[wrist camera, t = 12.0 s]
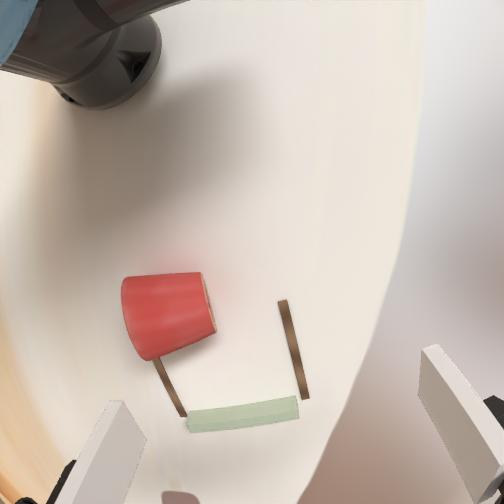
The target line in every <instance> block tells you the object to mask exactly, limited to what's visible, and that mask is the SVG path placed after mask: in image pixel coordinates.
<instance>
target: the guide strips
mask: <svg viewBox="0 0 504 504" xmlns="http://www.w3.org/2000/svg"><path fill="white" fill-rule="evenodd" d="M278 303H279V307H280V311H281V315H282V319H283V323H284V327H285V331H286V335H287V339H288V343H289V347H290V351H291V355H292V359H293V363H294V368H295V372H296V376H297V380H298V384H299V388H300V392H301V396H302V400H304V399H309V398H310V397H309V393H308V388H307V384H306V379H305V375H304V370H303V366H302V362H301V357H300V353H299V349H298V344H297V340H296V336H295V331H294V327H293V323H292V319H291V314H290V310H289V306H288V302H287V300H283V301H278ZM152 361H153V363H154V365H155V367H156V369H157V371H158V373H159V375H160V378H161V380H162V382H163V384H164V386H165V388H166V390H167V392H168V394H169V396H170V398H171V400H172V402H173V403H174V405H175V407H176V409H177V411H178V413H179V415H180V417H187V414H186V412H185V410H184V408H183V406H182V404H181V402H180V400H179V398H178V396H177V394H176V392H175V390H174V388H173V386H172V384H171V382H170V380H169V378H168V376H167V373H166V371H165V369H164V367H163V365H162V363H161V360H160V358H156V359H153V360H152Z"/></svg>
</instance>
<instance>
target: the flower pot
mask: <svg viewBox="0 0 504 504" xmlns="http://www.w3.org/2000/svg"><path fill="white" fill-rule="evenodd" d="M121 301H122V309H123V315H124V319H125V324H126V327H127V331H128V334H129V337H130V339H131V341H132V344H133V346H134V348H135V349H136V351H137V353H138V354H139V355H140V357H141V358H142V359H144V360H145V361H150V360H153V359H156V358H159V357H161V356H164V355H166V354H169V353H171V352H173V351H176V350H178V349H181V348H183V347H186V346H188V345H190V344H193V343H195V342H197V341H199V340H201V339H203V338H206V337H208V336H210V335H212V334H214V333H216V332H217V328H216V325H215V319H214V315H213V311H212V307H211V304H210V300H209V296H208V292H207V288H206V285H205V281H204V279H203V275H202V273H201V272H196V273H175V274H160V275H146V276H132V277H126V278H125V279H124V280H123V283H122V287H121Z"/></svg>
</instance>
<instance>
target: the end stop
mask: <svg viewBox="0 0 504 504" xmlns="http://www.w3.org/2000/svg"><path fill="white" fill-rule="evenodd" d="M298 418H299V410H298V403H297V399H296V396H291V397H286V398H281V399H275V400H270V401H264V402H258V403H252V404H246V405H239V406H232V407H225V408H217V409H208V410H199V411H190V414H189V417H188V421H187V424H186V425H187V427H188V429H189V431H190V433H196V432H208V431H219V430H228V429H237V428H244V427H252V426H258V425H265V424H271V423H277V422H283V421H288V420H293V419H298Z"/></svg>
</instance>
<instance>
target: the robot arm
mask: <svg viewBox="0 0 504 504" xmlns="http://www.w3.org/2000/svg"><path fill="white" fill-rule="evenodd" d="M186 1H189V0H0V70H3V71H7V72H11V73H15V74H19V75H23V76H27V77H31V78H34V79H38V80H42V81H46V82H49V83H51V84H52V86H53V87H54V88H55V89H56V90H57V91H58V92H59V94H60V95H61V96H62V97H63V98H64V99H65V100H66V101H68V102H69V103H71V104H73V105H75V106H78V107H81V108H85V109H89V110H103V109H108V108H111V107H114V106H116V105H119V104H121V103H123V102H124V101H126V100H128V99H129V98H130V97H132V96H133V95H134V94H135V93H137V92H138V91H139V90H140V89H141V88H142V87H143V86H144V84H145V83H146V82H147V81H148V79H149V78H150V77H151V75H152V73H153V72H154V70H155V68H156V66H157V63H158V61H159V57H160V53H161V47H162V39H161V33H160V30H159V27H158V25H157V24H156V22H155V21H154V20H153V18H152V17H151V16H150V15H149V14H152V13H154V12H157V11H160V10H163V9H165V8H168V7H171V6H174V5H177V4H180V3H183V2H186ZM418 396H419V398H420V400H421V402H422V404H423V405H424V407H425V409H426V410H427V412H428V414H429V416H430V418H431V420H432V422H433V423H434V425H435V427H436V429H437V431H438V432H439V434H440V436H441V438H442V440H443V442H444V444H445V446H446V448H447V450H448V451H449V453H450V455H451V457H452V459H453V461H454V463H455V465H456V467H457V469H458V471H459V473H460V475H461V477H462V479H463V481H464V483H465V486H466V487H467V490H468V492H469V494H470V496H471V498H472V500H473V503H474V504H479V503H481V502H483V501H485V500H487V499H488V498H490V497H492V496H493V495H494V494H495V492H496V491H497V489H499V491H500V493H501V495H500V497H499V498H498V499H497V500H496V502H495V504H504V401H503V400H501V399H499V398H497V397H496V396H494V395H493V396H491V397H489V398H487V399H485V400H483V401H482V399H481V398H480V397H479V395H478V394H477V393H476V392H475V390H474V389H473V388H472V386H471V385H470V384H469V382H468V381H467V380H466V378H465V377H464V376H463V375H462V373H461V372H460V371H459V370H458V368H457V367H456V366H455V365H454V363H453V362H452V361H451V360H450V358H449V357H448V356H447V355H446V354H445V352H444V351H443V350H442V349H441V347H440V346H439V345H438V344H434V345H431V346H429V347H425V348H423V349H422V352H421V367H420V379H419V389H418ZM146 441H147V439H146V437H145V436H144V434H143V432H142V431H141V429H140V428H139V426H138V425H137V423H136V421H135V420H134V418H133V416H132V415H131V413H130V411H129V410H128V408H127V406H126V405H125V403H124V401H123V400H119V401H109V403H108V405H107V406H106V408H105V410H104V412H103V414H102V415H101V417H100V419H99V421H98V422H97V424H96V426H95V428H94V430H93V431H92V433H91V435H90V437H89V439H88V441H87V442H86V444H85V446H84V448H83V450H82V452H81V454H80V455H79V457H78V459H77V460H72V461H71V462H70V463H69V464H68V465H67V466H66V467H65V469H64V471H63V472H62V474H61V478H59V480H58V482H57V484H56V486H55V487H54V489H53V491H52V493H51V495H50V497H49V499H48V501H47V503H46V504H124V501H125V498H126V496H127V493H128V490H129V487H130V484H131V482H132V479H133V476H134V473H135V471H136V468H137V465H138V462H139V460H140V457H141V454H142V452H143V449H144V446H145V443H146ZM15 504H37V503H36V502H35V501H34V500H33V499H32V498H28V497H25V498H21V499H19V500H18V501H17V502H16V503H15Z"/></svg>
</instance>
